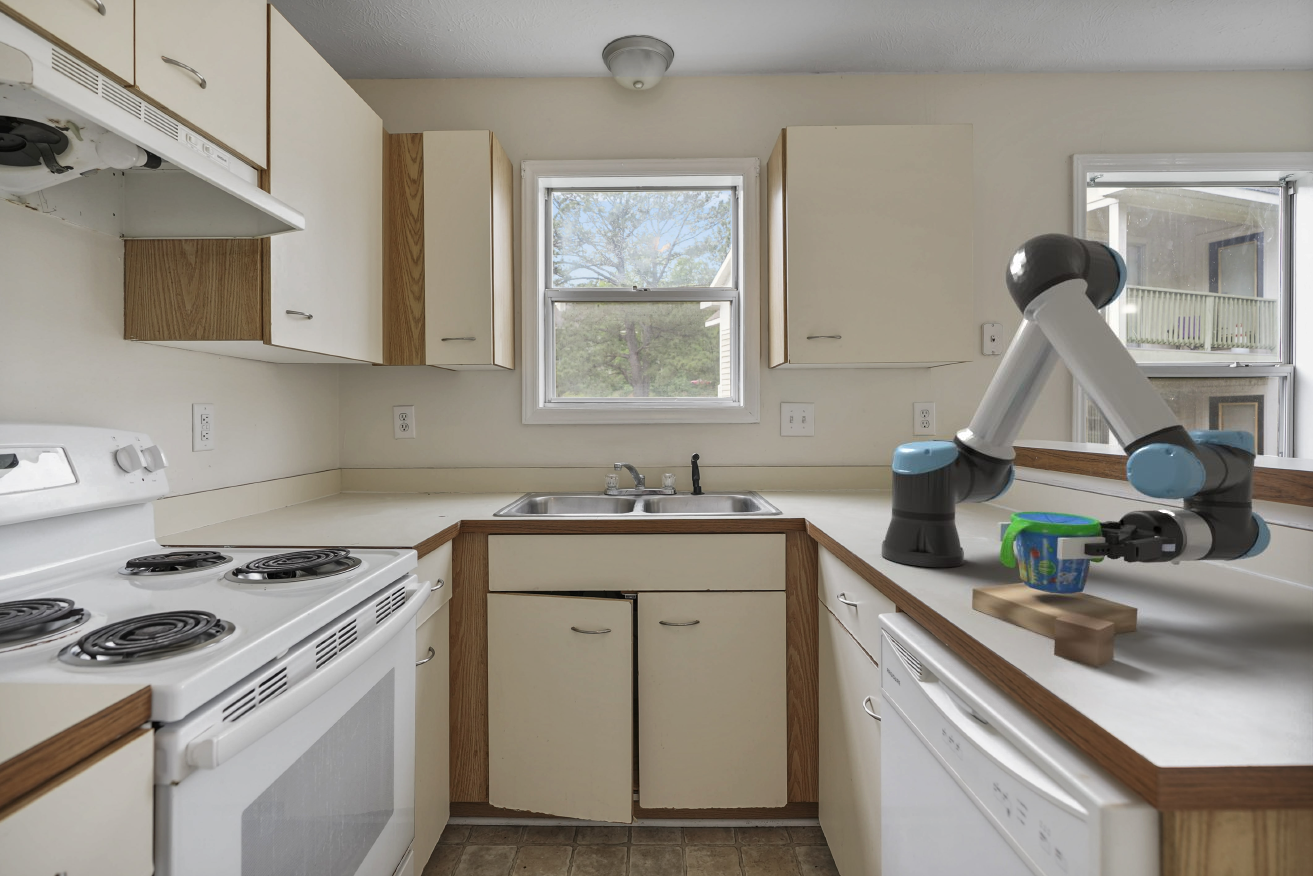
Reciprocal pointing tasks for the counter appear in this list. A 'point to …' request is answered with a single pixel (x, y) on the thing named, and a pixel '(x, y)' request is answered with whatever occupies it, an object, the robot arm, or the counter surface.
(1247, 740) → the counter surface
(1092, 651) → the walnut block
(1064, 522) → the snack cup
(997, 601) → the oak base slab
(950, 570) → the counter surface
